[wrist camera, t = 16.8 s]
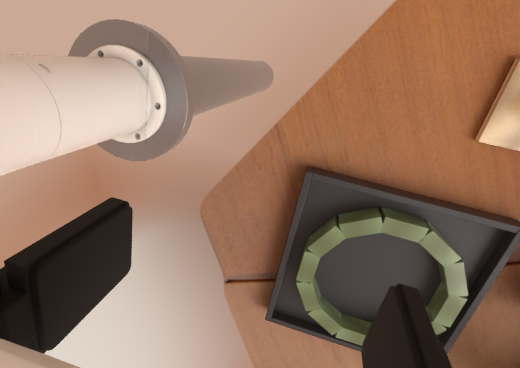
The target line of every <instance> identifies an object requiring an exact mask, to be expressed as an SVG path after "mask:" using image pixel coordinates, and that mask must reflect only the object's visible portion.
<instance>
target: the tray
mask: <svg viewBox="0 0 520 368" xmlns="http://www.w3.org/2000/svg"><path fill="white" fill-rule="evenodd" d="M375 207H378V209H379V212H380V211H381V209H382V207H384V208H388V209H392V210H395V211H399V212H403V213H407V214H410V215H414V216H418V217H422V218H423V220H424V221H425V220H427V221H428V222H429V223H430V224H431V225H432V226H433V227H434V228H435V229H436V230H437V231H438V232H439V233H440V234H442V235H443V236H444V237H445V238H446V239H447V240H448V241H449V242H450V243H451V244H452V245H453V246H454V248H455V249H456V251H457V252H458V254H459V255H460V257H461V258H462V261H463V262H464V268H465V275H466V282H467V289H468V296H466V297H467V299H468V300H467V301H466V303H465V304H464V306H463V308H462V309H461V311H460V312H459V314H458V316H457V317H456V319H455V320H454V322H453V323H452V325H451V327H446V326H445V327H446V329H447V330H446V331H444V332H442V333H440V334H438V335H436V336H437V339H438V340H439V341H440V342H441V343H442V345H443V347H444V350H445V352H446V354H447V353H448V351H449V350H450V348H451V347H452V345H453V344H454V342H455V341H456V339H457V338H458V336H459V335H460V333H461V332H462V330H463V329H464V327H465V325H466V324H467V322H468V321H469V319H470V318H471V316H472V315H473V313H474V312H475V310H476V309H477V307H478V306H479V304H480V303H481V301H482V300H483V298H484V297H485V295H486V293H487V292H488V290H489V289H490V287H491V286H492V284H493V283H494V281H495V280H496V278H497V277H498V275H499V274H500V272H501V271H502V269H503V268H504V266H505V265H506V263H507V262H508V260H509V258H510V257H511V255H512V254H513V252H514V251H515V249H516V248H517V246H518V245H519V243H520V222H519V221H518V220H515V219H511V218H507V217H503V216H500V215H496V214H492V213H488V212H484V211H480V210H476V209H473V208H469V207H465V206H461V205H457V204H453V203H449V202H446V201H442V200H438V199H434V198H430V197H426V196H422V195H419V194H415V193H411V192H407V191H403V190H399V189H395V188H392V187H388V186H384V185H380V184H376V183H372V182H369V181H365V180H361V179H357V178H353V177H349V176H345V175H342V174H338V173H334V172H330V171H326V170H322V169H318V168H315V167H311V166H307V169H306V173H305V176H304V180H303V184H302V187H301V191H300V194H299V198H298V202H297V205H296V209H295V213H294V216H293V220H292V223H291V227H290V231H289V234H288V238H287V241H286V245H285V249H284V252H283V256H282V260H281V263H280V267H279V270H278V274H277V278H276V281H275V285H274V289H273V292H272V296H271V299H270V303H269V307H268V310H267V314H266V318H265V320H268V321H271V322H273V323H276V324H279V325H282V326H285V327H288V328H291V329H294V330H297V331H300V332H303V333H306V334H309V335H312V336H315V337H318V338H321V339H324V340H327V341H330V342H333V343H336V344H339V345H342V346H345V347H348V348H351V349H354V350H358V351H361V352H362V346H360V345H357V344H354V343H351V342H348V341H345V340H342V339H339V338H336V337H335V334H333V335H331V334H330V333H329V332H328V331H327V330H326V329H324V328H323V327H322V326H321V325H320V324H319V323H318V322H317V321H315V320H314V319H313V318H312V317H311V316H310V315H309V314H308V311H306V310H305V307H304V305H303V302H302V299H301V296H300V293H299V290H298V287H297V284H296V281H297V280H296V277H297V271H298V266H299V263H300V260H301V256H302V253H303V250H304V247H305V243H306V240H308V238H309V237H310V236H311V235H312V234H313V233H314V232H316V231H317V230H318V229H319V228H321V227H322V226H323V225H324V224H326V223H327V222H328V221H329V220H331V219H332V218H333V217H334V216H335V217H337V218H338V219H339V214H343V213H348V212H354V211H359V210H364V209H369V208H375ZM314 276H315V279H316V282H317V285H318V288H319V291H320V294H321V296H323V297H324V298H325V299H326V300H327V301H328V302H329V303H330V304H332V305H333V306H334V307H335V308H336V309H337V310H338V311H339V312H340V313H343V314H346V315H349V316H352V317H355V318H358V319H362V320H365V321H368V322H373V320H374V318H375V316H376V314H377V312H378V310H379V308H380V306H381V304H382V302H383V300H384V298H385V295H386V293H387V291H388V289H389V288H390V286H396V285H397V284H398V283H400V284H404V285H407V286H410V287H414V288H417V289H418V290H419V292H420V295H421V297H422V300H423V303H424V305H425V307H426V306H428V304H429V302H430V301H431V299H432V297H433V295H434V294H435V292H436V290H437V288H438V286H439V285H440V283H441V277H440V271H439V265H438V261H437V260H436V259H435V258H434V257H433V256H432V255H431V254H430V253H429V252H428V251H427V250H426V249H425V248H424V247H422V246H421V245H420V244H419V243H417V242H414V241H410V240H407V239H403V238H400V237H396V236H392V235H389V234H385V233H376V234H370V235H364V236H358V237H352V238H346V239H344V240H343V241H342V242H340V243H339V244H338V245H336V246H335V247H334V248H332V249H331V250H330V251H328V252H327V253H326V254H324V255H323V256H322V257H320V260H319V263H318V266H317V269H316V272H315V275H314Z"/></svg>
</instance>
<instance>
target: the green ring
mask: <svg viewBox="0 0 520 368" xmlns="http://www.w3.org/2000/svg"><path fill="white" fill-rule="evenodd" d="M376 233H385V234H389V235H392V236H396V237H400V238H403V239H407V240H410V241H414V242H417V243H419V244H420V245H421V246H422V247H424V248H425V249H426V250H427V251H428V252H429V253H430V254H431V255H432V256H433V257H434V258H435V259H436V260H437V261H438V265H439V271H440V277H441V283H440V285H439V286H438V288H437V290H436V292H435V294H434V295H433V297H432V299H431V301H430V302H429V304H428V306H426V307H425V308H426V310H427V313H428V316H429V318H430V321H431V323H432V326H433V328H434V331H435V334H436V335H438V334H440V333H442V332H444V331H446V330H447V329H446V327H451V325H452V323H453V322H454V320H455V319H456V317H457V316H458V314H459V312H460V311H461V309H462V308H463V306H464V304H465V303H466V301H467V300H468V299H467V297H466V296H468V289H467V282H466V275H465V268H464V262H463V261H462V258H461V257H460V255H459V254H458V252H457V251H456V249H455V248H454V246H453V245H452V244H451V243H450V242H449V241H448V240H447V239H446V238H445V237H444V236H443V235H442V234H440V233H439V232H438V231H437V230H436V229H435V228H434V227H433V226H432V225H431V224H430V223H429V222H428V221H427V220H425V221H424V220H423V218H422V217H418V216H414V215H410V214H407V213H403V212H399V211H395V210H392V209H388V208H384V207H382V209H381V211H380V212H379V209H378V207H375V208H369V209H364V210H359V211H354V212H348V213H343V214H339V219H338V218H337V217H335V216H334V217H333V218H332V219H331V220H329V221H328V222H327V223H326V224H324V225H323V226H322V227H321V228H319V229H318V230H317V231H316V232H314V233H313V234H312V235H311V236H310V237H309V238H308V240H306V243H305V247H304V250H303V253H302V256H301V260H300V263H299V266H298V271H297V277H296V280H297V281H296V284H297V287H298V290H299V293H300V296H301V299H302V302H303V305H304V307H305V310H306V311H308V314H309V315H310V316H311V317H312V318H313V319H314V320H315V321H317V322H318V323H319V324H320V325H321V326H322V327H323V328H324V329H326V330H327V331H328V332H329V333H330V334H331V335H333V334H335V337H336V338H339V339H342V340H345V341H348V342H351V343H354V344H357V345H360V346H362V345H363V341H364V339H365V337H366V335H367V333H368V331H369V329H370V327H371V325H372V323H373V322H368V321H365V320H362V319H358V318H355V317H352V316H349V315H346V314H343V313H340V312H339V311H338V310H337V309H336V308H335V307H334V306H333V305H332V304H330V303H329V302H328V301H327V300H326V299H325V298H324V297H323V296H321V294H320V291H319V288H318V285H317V282H316V279H315V276H314V275H315V272H316V269H317V266H318V263H319V260H320V257H322V256H323V255H324V254H326V253H327V252H328V251H330V250H331V249H332V248H334V247H335V246H336V245H338V244H339V243H340V242H342V241H343V240H344V239H346V238H352V237H358V236H364V235H370V234H376ZM445 326H446V327H445Z"/></svg>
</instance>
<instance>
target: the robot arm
mask: <svg viewBox="0 0 520 368" xmlns="http://www.w3.org/2000/svg"><path fill="white" fill-rule="evenodd" d="M142 62H143V64H142ZM160 106H161V107H160ZM166 106H167V101H166V92H165V88H164V84H163V82H162V79H161V77H160V75H159V73H158V72H157V70H156V68H155V67H154V66H153V65H152V63H151V62H150V61H149V60H148V59H147V58H146V57H145V56H143V55H142V54H141V53H139V52H138V51H136V50H134V49H132V48H129V47H126V46H122V45H105V46H101V47H99V48H97V49H95V50H93V51H92V52H91V53H90V54H89V55H88V56H87V57H73V56H45V55H43V56H42V55H17V54H16V55H15V54H0V176H2V175H4V174H7V173H9V172H13V171H15V170H18V169H21V168H24V167H27V166H30V165H32V164H36V163H39V162H42V161H45V160H49V159H52V158H54V157H58V156H61V155H64V154H67V153H70V152H73V151H76V150H79V149H82V148H85V147H88V146H91V145H94V144H97V143H100V142H103V141H106V140H109V139H114V140H116V141H119V142H124V143H136V142H140V141H143V140H145V139H148V138H149V137H151V136H152V135H154V134H155V133H156V132H157V130H158V129H159V128H160V126H161V125H162V123H163V121H164V117H165V114H166ZM131 248H132V208H131V207H129V203H128V202H127V201H123V200H120V199H116V198H109V199H108V200H106V201H104V202H103V203H101V204H99V205H98V206H96V207H94V208H92V209H91V210H89V211H88V212H86V213H84V214H82V215H81V216H79V217H77V218H76V219H74V220H72V221H71V222H69V223H67V224H66V225H64V226H62V227H61V228H59V229H57V230H56V231H54V232H52V233H51V234H49V235H47V236H45V237H44V238H42V239H40V240H39V241H37V242H35V243H34V244H32V245H30V246H29V247H27V248H25V249H23V250H22V251H20V252H19V253H17V254H15V255H13V256H12V257H10V258H8V259H7V260H5V261H4V263H5V266H4V267H3V268H1V269H0V368H79V367H77V366H74V365H71V364H69V363H66V362H64V361H61V360H58V359H56V358H53V357H50V356H48V355H45V354H44V353H45V352H46V351H47V350H52V349H53V348H55V347H56V346H57V345H58V344H59V343H60V342H61V341H62V340H63V339H64V338H65V336H67V335H68V334H69V333H70V332H71V331H72V330H73V329H74V327H76V326H77V325H78V323H79V322H80V321H81V320H82V319H83V318H84V317H85V316H86V315H87V314H88V313H89V312H90V311H91V310H92V309H93V308H94V307H95V306H96V305H97V304H98V303H99V302H100V301H101V300H102V299H103V298H104V297H105V296H106V295H107V294H108V293H109V292H110V291H111V290H112V289H113V288H114V287H115V286H116V285H117V284H118V283H119V282H120V281H121V280H122V279H123V278H124V277H125V276H126V275H127V273H128V272H129V270H130V267H131ZM362 361H363V368H452V367H451V365H450V362H449V360H448V357H447V355H446V352H445V350H444V347H443V345H442V343H441V342H440V341H439V340H438V339H437V336H436V334H435V331H434V328H433V326H432V323H431V321H430V318H429V316H428V313H427V310H426V308H425V305H424V303H423V300H422V297H421V295H420V292H419V290H418V289H417V288H414V287H410V286H407V285H404V284H400V283H398V284H397V285H396V286H390V288H389V289H388V291H387V293H386V295H385V298H384V300H383V302H382V304H381V306H380V308H379V310H378V312H377V314H376V316H375V318H374V320H373V323H372V325H371V327H370V329H369V331H368V333H367V335H366V337H365V339H364V341H363V345H362Z"/></svg>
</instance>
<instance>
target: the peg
mask: <svg viewBox="0 0 520 368" xmlns="http://www.w3.org/2000/svg"><path fill="white" fill-rule="evenodd" d="M475 140H476V141H478V142H481V143H485V144H490V145H494V146H498V147H503V148H507V149H511V150H516V151H520V58H516V59H515V61H514V63H513V65H512V67H511V69H510V71H509V73H508V75H507V77H506V79H505V81H504V83H503V85H502V87H501V89H500V91H499V93H498V95H497V97H496V99H495V101H494V103H493V105H492V107H491V109H490V111H489V113H488V115H487V117H486V119H485V121H484V123H483V125H482V127H481V129H480V131H479V133H478V135H477V137H476V139H475Z"/></svg>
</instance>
